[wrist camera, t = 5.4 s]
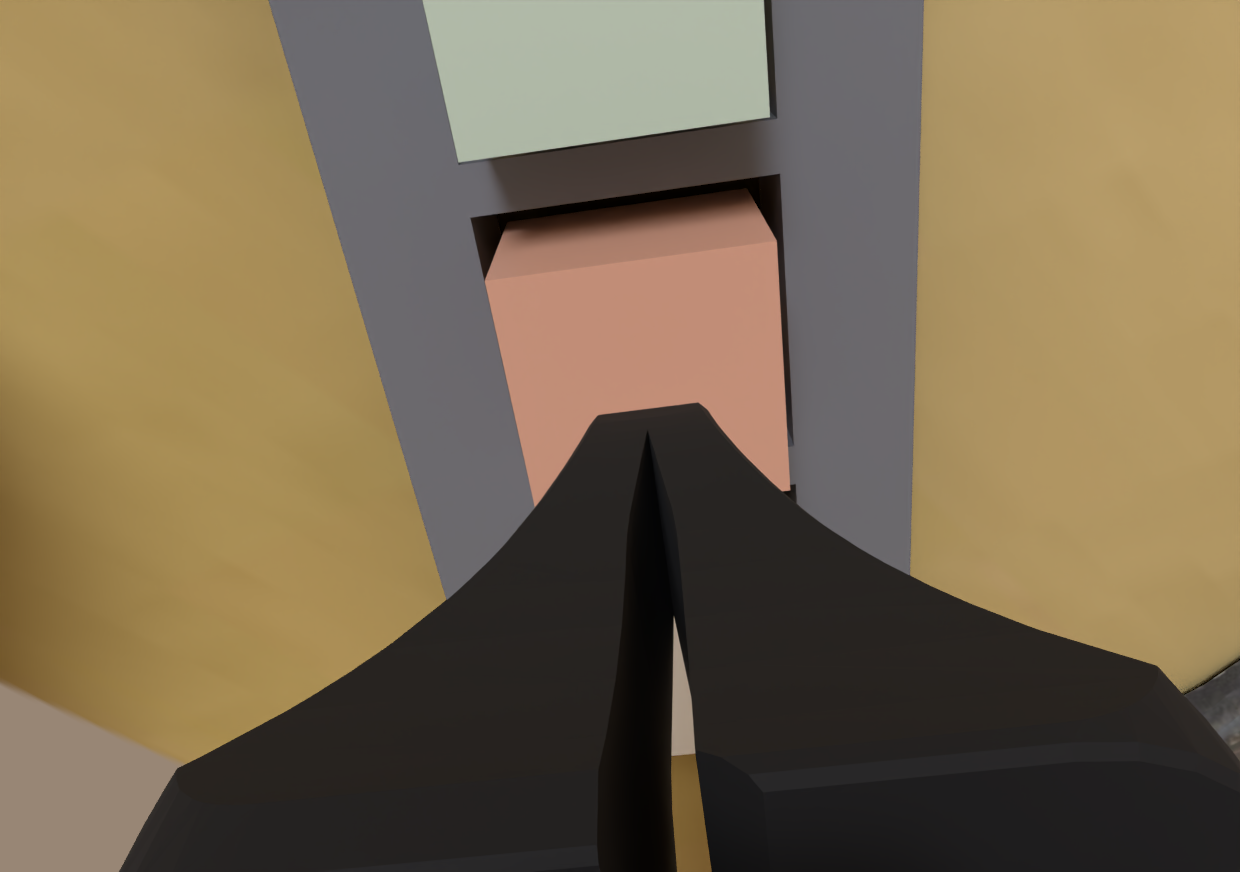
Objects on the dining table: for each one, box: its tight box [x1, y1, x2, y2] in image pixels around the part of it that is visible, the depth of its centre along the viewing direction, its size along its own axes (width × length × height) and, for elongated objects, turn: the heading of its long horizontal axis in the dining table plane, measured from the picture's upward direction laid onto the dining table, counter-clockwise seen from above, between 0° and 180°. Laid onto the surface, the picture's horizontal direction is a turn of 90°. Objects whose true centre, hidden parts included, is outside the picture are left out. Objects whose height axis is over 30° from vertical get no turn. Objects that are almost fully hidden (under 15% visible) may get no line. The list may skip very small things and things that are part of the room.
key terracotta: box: [485, 188, 790, 507], centre depth 14 cm, size 4×4×3 cm
